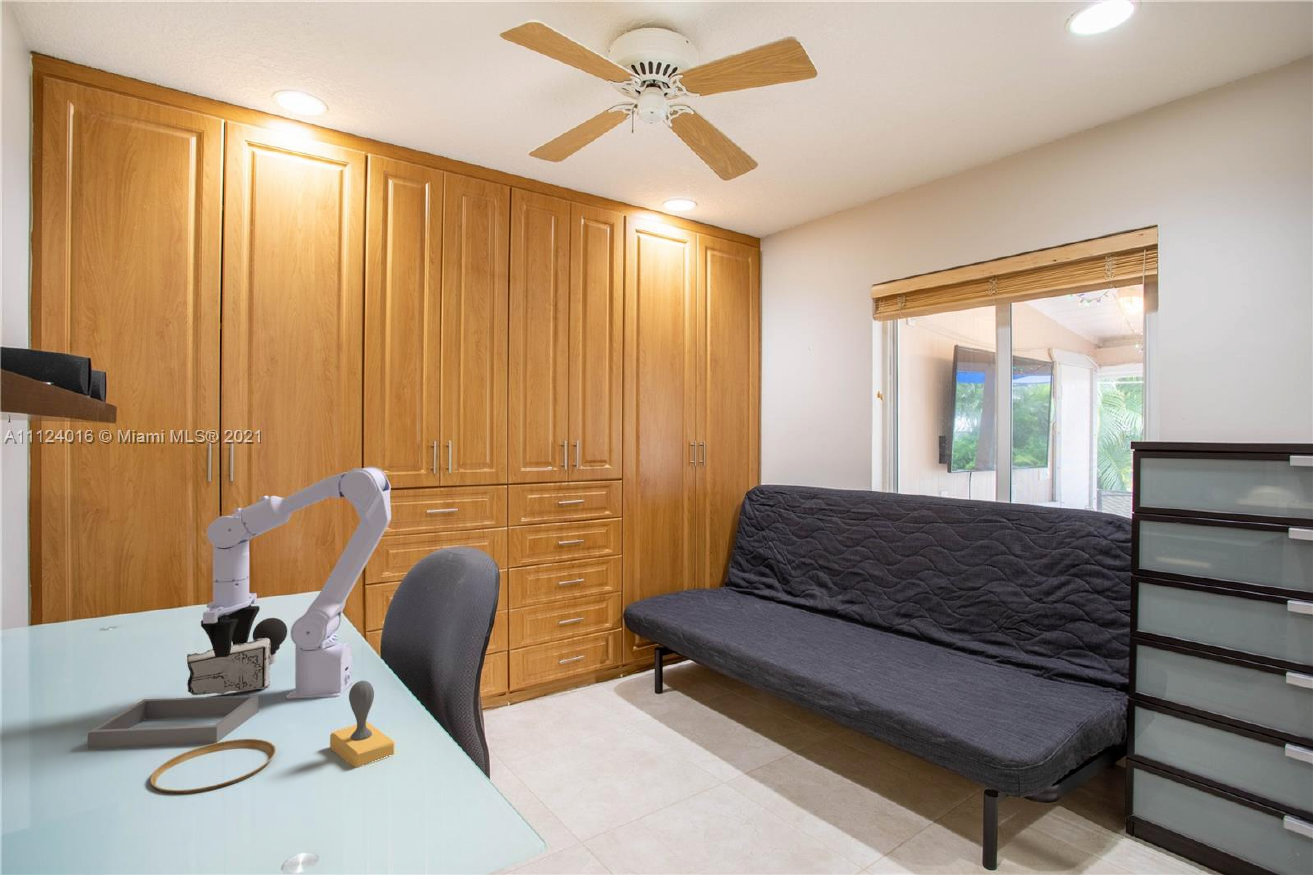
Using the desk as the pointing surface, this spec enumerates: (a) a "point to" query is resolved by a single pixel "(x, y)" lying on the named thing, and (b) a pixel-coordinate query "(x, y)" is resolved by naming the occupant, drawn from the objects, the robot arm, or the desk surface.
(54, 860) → the desk surface
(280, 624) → the light bulb
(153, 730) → the box
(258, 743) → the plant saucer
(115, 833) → the desk surface
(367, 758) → the rubber stamp
